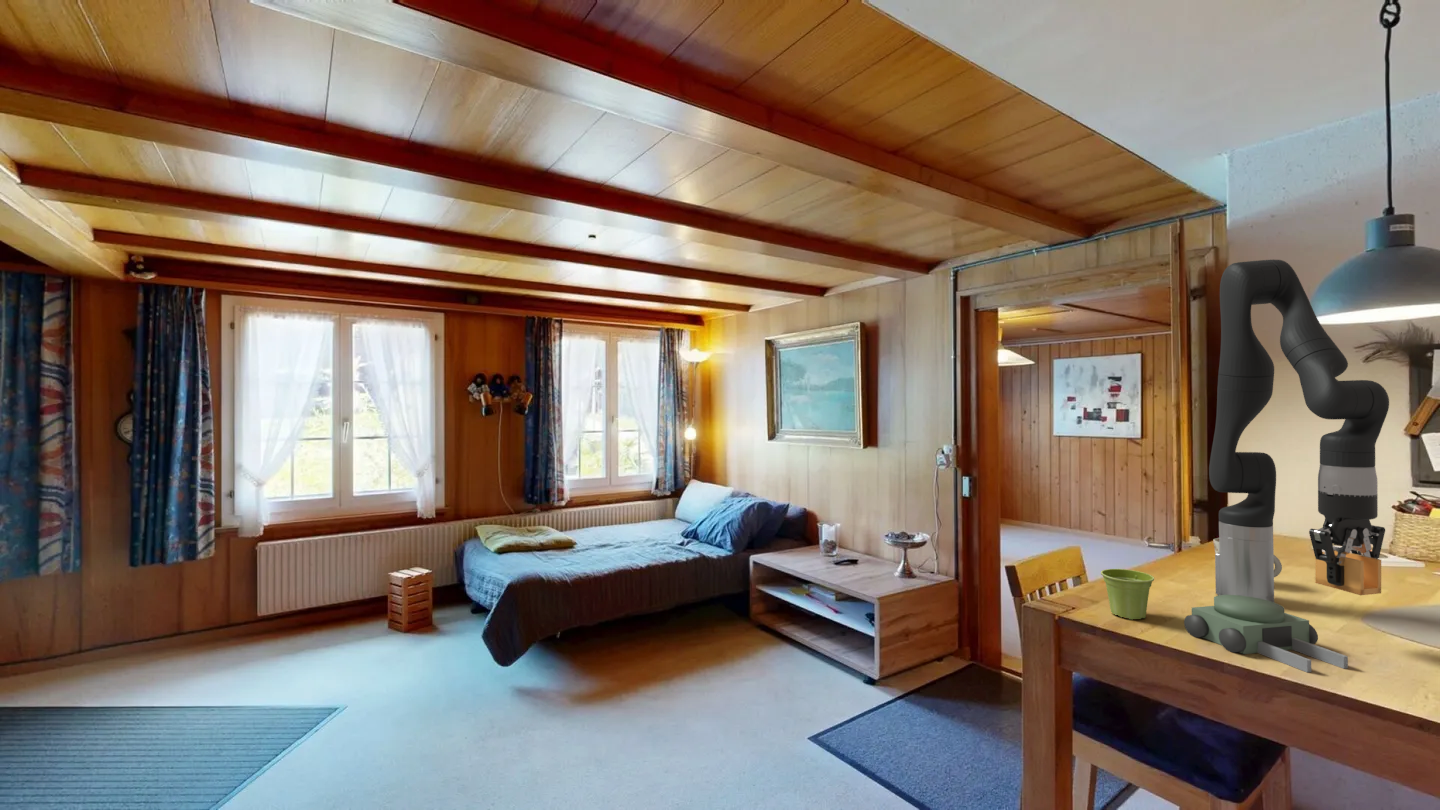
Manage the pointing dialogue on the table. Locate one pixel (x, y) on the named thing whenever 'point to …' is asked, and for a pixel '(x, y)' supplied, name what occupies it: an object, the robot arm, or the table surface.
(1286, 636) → the toy forklift
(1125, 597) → the plant pot
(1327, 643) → the table surface
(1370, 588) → the orange u-channel
